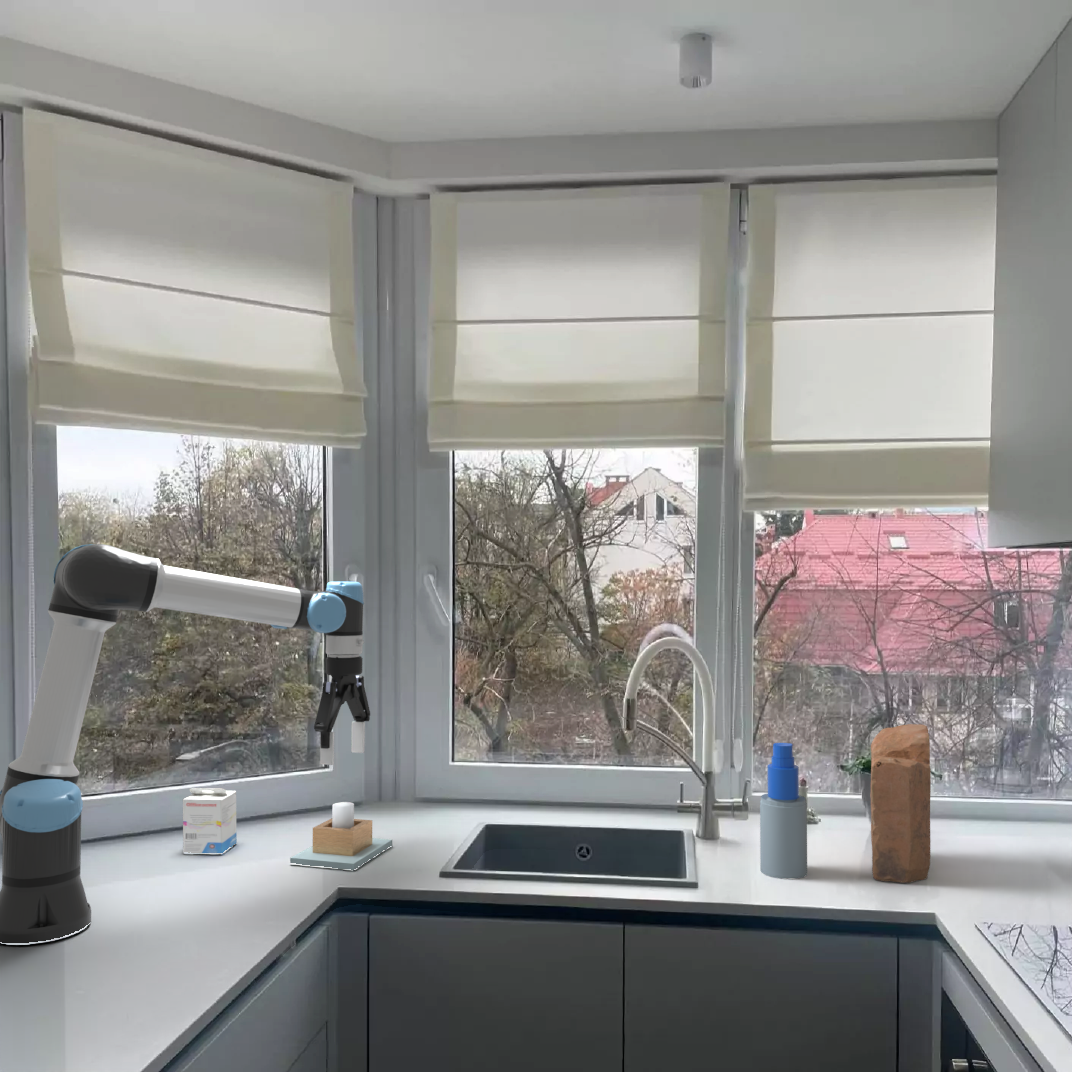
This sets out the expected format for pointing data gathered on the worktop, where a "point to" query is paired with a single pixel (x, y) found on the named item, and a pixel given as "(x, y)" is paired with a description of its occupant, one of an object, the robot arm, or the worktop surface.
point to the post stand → (342, 819)
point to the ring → (342, 838)
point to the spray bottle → (783, 819)
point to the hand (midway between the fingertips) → (342, 758)
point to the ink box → (209, 820)
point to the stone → (900, 803)
